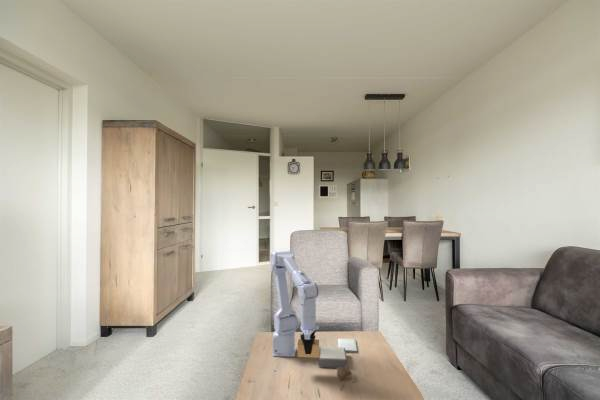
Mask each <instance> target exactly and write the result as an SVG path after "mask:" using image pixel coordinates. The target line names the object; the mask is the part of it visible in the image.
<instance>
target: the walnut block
mask: <svg viewBox="0 0 600 400" xmlns="http://www.w3.org/2000/svg"><path fill="white" fill-rule="evenodd" d="M336 375H337V377H338V379H339V380H340V381H341V382H343V381H351V380H352V370H351V369H350V368H349V366H348V365H347V366H344V367H338V368H336Z"/></svg>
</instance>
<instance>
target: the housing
mask: <svg viewBox="0 0 600 400" xmlns="http://www.w3.org/2000/svg"><path fill="white" fill-rule="evenodd" d="M319 347H320V339H316V338H315V340H314V342H313V345H312V352H311V354H305V350H304V345H303V342H302V340H301V338H298V341H297V358H318V359H319Z"/></svg>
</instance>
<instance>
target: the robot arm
mask: <svg viewBox="0 0 600 400" xmlns="http://www.w3.org/2000/svg"><path fill="white" fill-rule="evenodd" d="M269 263H270V269H271V271H272V272H274V278H275V279H274V280H275V286H276V293H277V301H278V310H277V311H276V313H274V316H273V318H274V319H273V320H274V321H273V327H274V331H273V337H272V357H291V358H293V357H295V356H296V353H297V347H296V346H295V345H296V343H295V341H296V340H295V339H296V338H295V336H296V335H295V333H296V332H297V329H298V328H299V325H300V331H301V332H302V333H301V334H300V339H301V340H302V342H303V345H304V350H305V354H311V352H312V345H313V342H314V340H315V339H316V335H315V334H316V332H317V330H319V329H320V326H319V325H317V323H316V322H317V320H316V319H317V315H316V314H317V313H316V311H317V309H316V306H317V304H316V299H317V298H318V296H319V293H320V291H319V287H318V284H317V283H316V282H315V281H312V280H310V279H309V278H308V275H307V274H306V273H305V272H304V271H303V270H300V269H299V267H298V265H297V263H296V261H295V253H294V252H293V251H292V250H286V251H285V250H284V251H282V250H281V251H272V252H271V253H270V257H269ZM287 271H288V272H289V273H290V274H291V280H292V282H293V283H294V285H295V287H296V288H297V295H298V297H299V299H298V300H299V303H300V321H299V318H298V316H297V311H296V310H294V309H293V308H291V302H290V296H289V289H288V283H287V282H288V281H287V276H286V275H287V274H286V272H287Z"/></svg>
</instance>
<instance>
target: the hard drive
mask: <svg viewBox="0 0 600 400" xmlns="http://www.w3.org/2000/svg"><path fill="white" fill-rule="evenodd" d="M337 347H344V348H345V351H346V354H348V353H349V354H358V348H357V341H356V339H355V338H338V339H337Z"/></svg>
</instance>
